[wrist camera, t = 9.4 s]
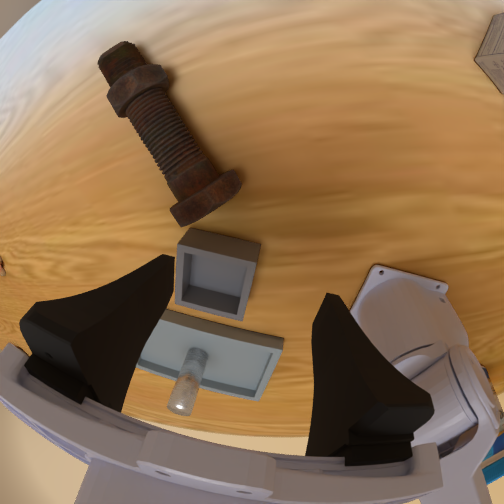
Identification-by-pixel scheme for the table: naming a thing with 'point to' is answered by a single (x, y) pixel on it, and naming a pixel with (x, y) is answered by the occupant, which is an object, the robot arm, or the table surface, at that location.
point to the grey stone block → (493, 52)
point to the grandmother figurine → (0, 269)
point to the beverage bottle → (494, 447)
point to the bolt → (165, 133)
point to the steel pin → (188, 382)
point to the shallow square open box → (215, 273)
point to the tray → (213, 354)
